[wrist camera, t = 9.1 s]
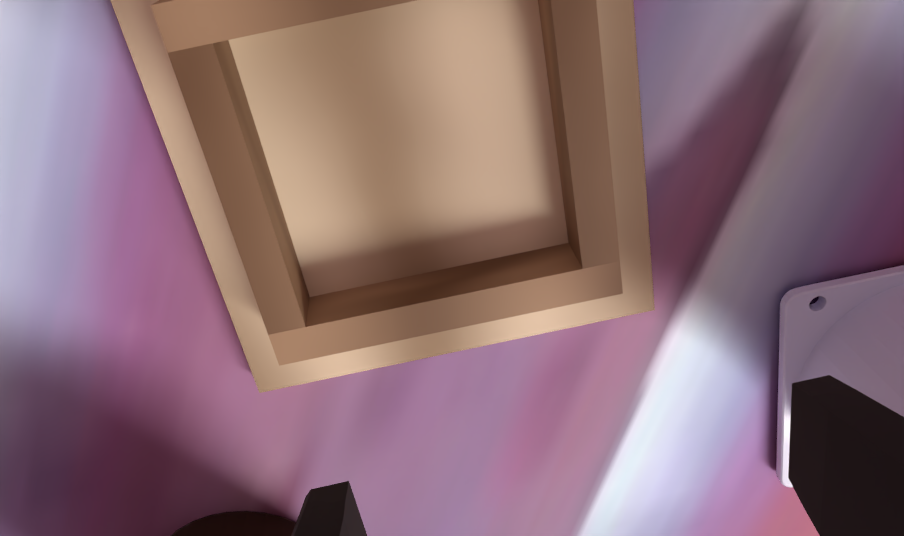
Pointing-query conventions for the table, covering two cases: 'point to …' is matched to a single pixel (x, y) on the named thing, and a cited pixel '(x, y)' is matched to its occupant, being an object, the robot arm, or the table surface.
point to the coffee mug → (238, 525)
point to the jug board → (402, 169)
